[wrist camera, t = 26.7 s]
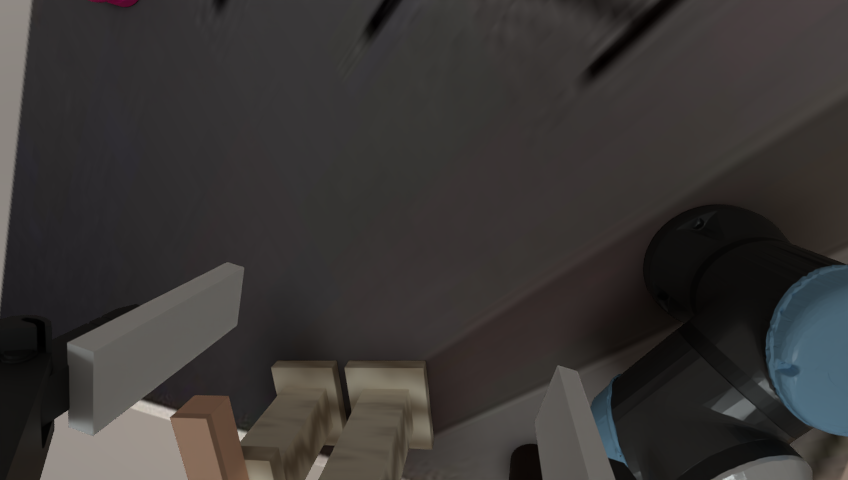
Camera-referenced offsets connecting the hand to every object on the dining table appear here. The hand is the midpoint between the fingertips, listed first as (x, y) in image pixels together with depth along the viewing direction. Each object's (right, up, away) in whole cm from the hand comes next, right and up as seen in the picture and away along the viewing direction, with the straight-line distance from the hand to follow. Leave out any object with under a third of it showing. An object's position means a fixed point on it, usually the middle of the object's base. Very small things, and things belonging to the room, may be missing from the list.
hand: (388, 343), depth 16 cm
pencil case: (-20, -22, +29) cm, 42 cm away
